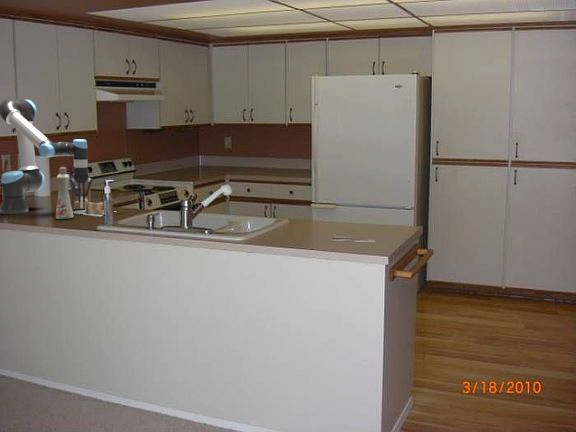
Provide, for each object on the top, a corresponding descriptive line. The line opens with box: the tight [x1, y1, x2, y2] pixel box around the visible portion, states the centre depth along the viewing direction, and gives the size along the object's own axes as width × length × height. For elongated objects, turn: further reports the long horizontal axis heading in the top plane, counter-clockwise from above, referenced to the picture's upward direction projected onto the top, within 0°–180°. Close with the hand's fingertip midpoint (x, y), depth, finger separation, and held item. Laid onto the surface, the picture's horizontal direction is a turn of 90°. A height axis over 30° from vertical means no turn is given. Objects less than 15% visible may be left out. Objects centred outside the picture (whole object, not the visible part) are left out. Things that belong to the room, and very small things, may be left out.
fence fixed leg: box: [85, 201, 105, 215], centre depth 386 cm, size 14×2×8 cm, turn 56°
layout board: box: [73, 210, 116, 218], centre depth 394 cm, size 17×28×1 cm, turn 56°
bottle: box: [55, 166, 74, 220], centre depth 373 cm, size 9×9×28 cm
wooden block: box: [73, 180, 92, 210], centre depth 410 cm, size 9×4×18 cm, turn 98°
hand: (81, 208), depth 396 cm, fingers closed
